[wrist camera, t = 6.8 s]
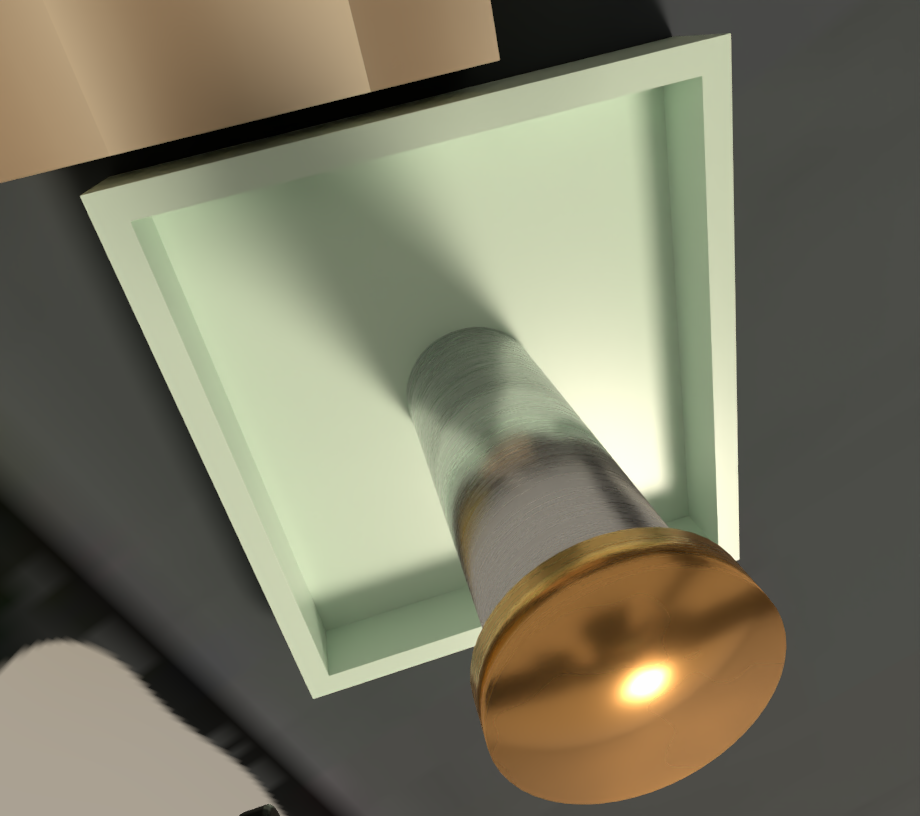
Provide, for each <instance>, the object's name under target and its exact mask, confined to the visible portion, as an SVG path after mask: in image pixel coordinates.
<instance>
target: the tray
mask: <svg viewBox="0 0 920 816" xmlns="http://www.w3.org/2000/svg"><path fill="white" fill-rule="evenodd" d="M80 198H81V200H82V202H83V204H84V206H85V208H86V211H87V213H88V215H89V217H90V219H91V221H92V223H93V226H94V228H95V230H96V232H97V234H98V236H99V239H100V241H101V243H102V245H103V247H104V249H105V251H106V254H107V256H108V258H109V260H110V262H111V264H112V267H113V269H114V271H115V273H116V275H117V277H118V279H119V282H120V284H121V286H122V288H123V290H124V292H125V295H126V297H127V299H128V301H129V303H130V305H131V307H132V310H133V312H134V314H135V316H136V318H137V320H138V323H139V325H140V327H141V329H142V331H143V333H144V336H145V338H146V340H147V342H148V344H149V346H150V348H151V351H152V353H153V355H154V357H155V359H156V361H157V364H158V366H159V368H160V370H161V372H162V374H163V376H164V379H165V381H166V383H167V385H168V387H169V389H170V392H171V394H172V396H173V398H174V400H175V402H176V404H177V407H178V409H179V411H180V413H181V415H182V417H183V420H184V422H185V424H186V426H187V428H188V430H189V433H190V435H191V437H192V439H193V441H194V443H195V445H196V448H197V450H198V452H199V454H200V456H201V458H202V461H203V463H204V465H205V467H206V469H207V471H208V473H209V476H210V478H211V480H212V482H213V484H214V486H215V489H216V491H217V493H218V495H219V497H220V499H221V501H222V504H223V506H224V508H225V510H226V512H227V514H228V517H229V519H230V521H231V523H232V525H233V527H234V530H235V532H236V534H237V536H238V538H239V540H240V542H241V545H242V547H243V549H244V551H245V553H246V555H247V558H248V560H249V562H250V564H251V566H252V568H253V570H254V573H255V575H256V577H257V579H258V581H259V583H260V586H261V588H262V590H263V592H264V594H265V596H266V598H267V601H268V603H269V605H270V607H271V609H272V611H273V614H274V616H275V618H276V620H277V622H278V624H279V626H280V629H281V631H282V633H283V635H284V637H285V639H286V642H287V644H288V646H289V648H290V650H291V652H292V655H293V657H294V659H295V661H296V663H297V665H298V667H299V670H300V672H301V674H302V676H303V678H304V680H305V683H306V685H307V687H308V689H309V691H310V693H311V695H312V698H313V699H315V698H318V697H321V696H324V695H327V694H330V693H333V692H336V691H339V690H342V689H345V688H348V687H351V686H354V685H358V684H361V683H364V682H367V681H370V680H373V679H376V678H379V677H382V676H385V675H388V674H391V673H394V672H397V671H400V670H403V669H406V668H409V667H412V666H416V665H419V664H422V663H425V662H428V661H431V660H434V659H437V658H440V657H443V656H446V655H449V654H452V653H455V652H458V651H461V650H464V649H467V648H470V647H473V646H475V645H476V642H477V639H478V636H479V634H480V632H481V630H482V626H481V623H480V620H479V617H478V614H477V611H476V608H475V605H474V602H473V599H472V597H471V594H470V591H469V588H468V585H467V582H466V579H465V576H464V573H463V570H462V567H461V564H460V561H459V558H458V555H457V552H456V549H455V546H454V543H453V540H452V537H451V534H450V531H449V528H448V525H447V522H446V519H445V516H444V513H443V510H442V507H441V504H440V501H439V498H438V495H437V492H436V489H435V486H434V483H433V480H432V477H431V474H430V471H429V468H428V465H427V462H426V459H425V456H424V453H423V450H422V447H421V444H420V441H419V438H418V435H417V432H416V429H415V426H414V424H413V421H412V418H411V415H410V412H409V409H408V404H407V394H406V392H407V383H408V379H409V375H410V373H411V370H412V368H413V366H414V364H415V362H416V361H417V359H418V358H419V357H420V355H421V354H422V353H423V352H424V351H425V350H426V348H427V347H429V346H430V345H431V344H432V343H433V342H435V341H436V340H438V339H439V338H441V337H442V336H444V335H446V334H448V333H451V332H454V331H456V330H460V329H464V328H471V327H485V328H491V329H495V330H498V331H501V332H503V333H506V334H508V335H509V336H511V337H512V338H514V339H515V340H516V341H518V342H519V343H520V344H521V345H522V346H523V348H524V349H525V350H526V351H527V353H528V354H529V355H530V356H531V357H532V359H533V360H534V361H535V362H536V364H537V365H538V366H539V367H540V369H541V370H542V371H543V372H544V374H545V375H546V376H547V377H548V379H549V380H550V381H551V382H552V383H553V385H554V386H555V387H556V388H557V390H558V391H559V392H560V393H561V395H562V396H563V397H564V398H565V400H566V401H567V402H568V403H569V404H570V406H571V407H572V408H573V409H574V411H575V412H576V413H577V414H578V416H579V417H580V418H581V419H582V421H583V422H584V423H585V424H586V426H587V427H588V428H589V429H590V430H591V432H592V433H593V434H594V435H595V437H596V438H597V439H598V440H599V442H600V443H601V444H602V445H603V447H604V448H605V449H606V450H607V452H608V453H609V454H610V455H611V456H612V458H613V459H614V460H615V461H616V463H617V464H618V465H619V466H620V468H621V469H622V470H623V471H624V473H625V474H626V475H627V476H628V478H629V479H630V480H631V481H632V482H633V484H634V485H635V486H636V487H637V489H638V490H639V491H640V492H641V494H642V495H643V496H644V497H645V499H646V500H647V501H648V502H649V504H650V505H651V506H652V507H653V508H654V510H655V511H656V512H657V513H658V515H659V516H660V517H661V518H662V520H663V521H664V522H665V523H666V525H667V526H668V527H669V528H675V529H680V530H684V531H688V532H693V533H695V534H698V535H700V536H703V537H705V538H708V539H709V540H711V541H713V542H714V543H716V544H718V545H719V546H721V547H722V548H723V549H724V550H725V551H726V552H728V553H729V554H730V555H731V556H732V557H733V558H734V559H735V561H736V560H739V508H738V445H737V383H736V320H735V257H734V195H733V132H732V69H731V33H726V34H709V35H692V36H675V37H670V38H666V39H662V40H658V41H654V42H650V43H646V44H642V45H638V46H634V47H630V48H626V49H622V50H618V51H613V52H609V53H605V54H601V55H597V56H593V57H589V58H585V59H581V60H577V61H573V62H569V63H565V64H561V65H557V66H553V67H549V68H545V69H541V70H537V71H533V72H529V73H525V74H521V75H517V76H513V77H509V78H505V79H501V80H497V81H493V82H489V83H484V84H480V85H476V86H472V87H468V88H464V89H460V90H456V91H452V92H448V93H444V94H440V95H436V96H432V97H428V98H424V99H420V100H416V101H412V102H408V103H404V104H400V105H396V106H392V107H388V108H384V109H380V110H376V111H372V112H368V113H364V114H360V115H355V116H351V117H347V118H343V119H339V120H335V121H331V122H327V123H323V124H319V125H315V126H311V127H307V128H303V129H299V130H295V131H291V132H287V133H283V134H279V135H275V136H271V137H267V138H263V139H259V140H255V141H251V142H247V143H243V144H239V145H235V146H231V147H227V148H222V149H218V150H214V151H210V152H206V153H202V154H198V155H194V156H190V157H186V158H182V159H178V160H174V161H170V162H166V163H162V164H158V165H154V166H150V167H146V168H142V169H138V170H134V171H130V172H126V173H122V174H118V175H114V176H110V177H108V178H106V179H105V180H103V181H102V182H100V183H99V184H97V185H95V186H94V187H92V188H91V189H89V190H88V191H86V192H85V193H83V194H82V195H80Z"/></svg>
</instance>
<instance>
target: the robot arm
mask: <svg viewBox="0 0 920 816" xmlns="http://www.w3.org/2000/svg"><path fill="white" fill-rule="evenodd" d="M239 816H280V815H279V813H278V811H277V810H276V808H275V807H274V806H272V805H269V804H267V805H264V806H261V807H258V808H255V809H252V810H250V811H246V812H244V813H242V814H240V815H239Z"/></svg>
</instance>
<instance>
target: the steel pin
mask: <svg viewBox="0 0 920 816" xmlns="http://www.w3.org/2000/svg"><path fill="white" fill-rule="evenodd" d="M406 394H407V404H408V409H409V412H410V415H411V418H412V421H413V424H414V426H415V429H416V432H417V435H418V438H419V441H420V444H421V447H422V450H423V453H424V456H425V459H426V462H427V465H428V468H429V471H430V474H431V477H432V480H433V483H434V486H435V489H436V492H437V495H438V498H439V501H440V504H441V507H442V510H443V513H444V516H445V519H446V522H447V525H448V528H449V531H450V534H451V537H452V540H453V543H454V546H455V549H456V552H457V555H458V558H459V561H460V564H461V567H462V570H463V573H464V576H465V579H466V582H467V585H468V588H469V591H470V594H471V597H472V599H473V602H474V605H475V608H476V611H477V614H478V617H479V620H480V623H481V626H482V630H481V632H480V634H479V636H478V639H477V642H476V645H475V648H474V651H473V655H472V661H471V667H470V683H471V688H472V693H473V698H474V701H475V705H476V708H477V712H478V715H479V719H480V722H481V726H482V729H483V733H484V736H485V740H486V743H487V747H488V750H489V752H490V755H491V757H492V760H493V762H494V763H495V765H496V766H497V768H498V769H499V771H500V772H501V773H502V774H503V775H504V776H505V777H506V778H507V779H508V780H509V781H510V782H511V783H512V784H514V785H515V786H517V787H518V788H520V789H521V790H523V791H525V792H527V793H529V794H531V795H533V796H536V797H539V798H542V799H546V800H549V801H554V802H560V803H566V804H601V803H608V802H615V801H620V800H625V799H629V798H634V797H637V796H640V795H644V794H647V793H650V792H653V791H655V790H658V789H661V788H663V787H666V786H668V785H670V784H672V783H674V782H676V781H679V780H681V779H683V778H685V777H687V776H688V775H690V774H692V773H693V772H695V771H697V770H699V769H700V768H702V767H704V766H705V765H706V764H708V763H709V762H711V761H712V760H714V759H715V758H717V757H718V756H719V755H720V754H722V753H723V752H724V751H725V750H727V749H728V748H729V747H730V746H731V745H733V744H734V743H735V742H736V741H737V740H738V739H739V738H740V737H741V736H742V735H743V734H744V733H745V732H746V731H747V730H748V729H749V727H750V726H751V725H752V724H753V723H754V722H755V720H756V719H757V718H758V717H759V715H760V714H761V712H762V711H763V710H764V708H765V707H766V705H767V704H768V702H769V700H770V698H771V697H772V695H773V693H774V691H775V689H776V687H777V684H778V682H779V679H780V677H781V674H782V670H783V666H784V662H785V654H786V634H785V630H784V626H783V622H782V619H781V617H780V615H779V613H778V611H777V609H776V607H775V606H774V604H773V603H772V602H771V601H770V599H769V598H768V597H767V596H766V594H765V593H764V592H763V591H762V590H761V589H760V588H759V587H758V585H757V584H756V583H755V582H754V581H753V580H752V579H751V577H750V576H749V575H748V574H747V573H746V572H745V571H744V570H743V568H742V567H741V566H740V565H739V564H738V563H737V562H736V561H735V559H734V558H733V557H732V556H731V555H730V554H729V553H728V552H726V551H725V550H724V549H723V548H722V547H721V546H719V545H718V544H716V543H714V542H713V541H711V540H709V539H708V538H705V537H703V536H700V535H698V534H695V533H693V532H688V531H684V530H680V529H675V528H669V527H668V526H667V525H666V523H665V522H664V521H663V520H662V518H661V517H660V516H659V515H658V513H657V512H656V511H655V510H654V508H653V507H652V506H651V505H650V504H649V502H648V501H647V500H646V499H645V497H644V496H643V495H642V494H641V492H640V491H639V490H638V489H637V487H636V486H635V485H634V484H633V482H632V481H631V480H630V479H629V478H628V476H627V475H626V474H625V473H624V471H623V470H622V469H621V468H620V466H619V465H618V464H617V463H616V461H615V460H614V459H613V458H612V456H611V455H610V454H609V453H608V452H607V450H606V449H605V448H604V447H603V445H602V444H601V443H600V442H599V440H598V439H597V438H596V437H595V435H594V434H593V433H592V432H591V430H590V429H589V428H588V427H587V426H586V424H585V423H584V422H583V421H582V419H581V418H580V417H579V416H578V414H577V413H576V412H575V411H574V409H573V408H572V407H571V406H570V404H569V403H568V402H567V401H566V400H565V398H564V397H563V396H562V395H561V393H560V392H559V391H558V390H557V388H556V387H555V386H554V385H553V383H552V382H551V381H550V380H549V379H548V377H547V376H546V375H545V374H544V372H543V371H542V370H541V369H540V367H539V366H538V365H537V364H536V362H535V361H534V360H533V359H532V357H531V356H530V355H529V354H528V353H527V351H526V350H525V349H524V348H523V346H522V345H521V344H520V343H519V342H518V341H516V340H515V339H514V338H512V337H511V336H509V335H508V334H506V333H503V332H501V331H498V330H495V329H491V328H485V327H471V328H464V329H460V330H456V331H454V332H451V333H448V334H446V335H444V336H442V337H441V338H439V339H438V340H436V341H435V342H433V343H432V344H431V345H430V346H429V347H427V348H426V350H425V351H424V352H423V353H422V354H421V355H420V357H419V358H418V359H417V361H416V362H415V364H414V366H413V368H412V370H411V373H410V375H409V379H408V383H407V392H406Z"/></svg>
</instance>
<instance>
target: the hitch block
mask: <svg viewBox="0 0 920 816" xmlns="http://www.w3.org/2000/svg"><path fill="white" fill-rule="evenodd" d="M499 60H500V57H499V51H498V44H497V38H496V32H495V26H494V19H493V13H492V7H491V1H490V0H0V183H2V182H6V181H10V180H14V179H18V178H22V177H26V176H31V175H35V174H39V173H43V172H47V171H51V170H55V169H59V168H63V167H67V166H71V165H75V164H79V163H84V162H88V161H92V160H96V159H100V158H104V157H108V156H112V155H116V154H120V153H124V152H128V151H132V150H137V149H141V148H145V147H149V146H153V145H157V144H161V143H165V142H169V141H173V140H177V139H181V138H185V137H190V136H194V135H198V134H202V133H206V132H210V131H214V130H218V129H222V128H226V127H230V126H234V125H238V124H242V123H247V122H251V121H255V120H259V119H263V118H267V117H271V116H275V115H279V114H283V113H287V112H291V111H295V110H300V109H304V108H308V107H312V106H316V105H320V104H324V103H328V102H332V101H336V100H340V99H344V98H348V97H353V96H357V95H361V94H365V93H369V92H373V91H377V90H381V89H385V88H389V87H393V86H397V85H401V84H406V83H410V82H414V81H418V80H422V79H426V78H430V77H434V76H438V75H442V74H446V73H450V72H454V71H459V70H463V69H467V68H471V67H475V66H479V65H483V64H487V63H491V62H495V61H499Z"/></svg>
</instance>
